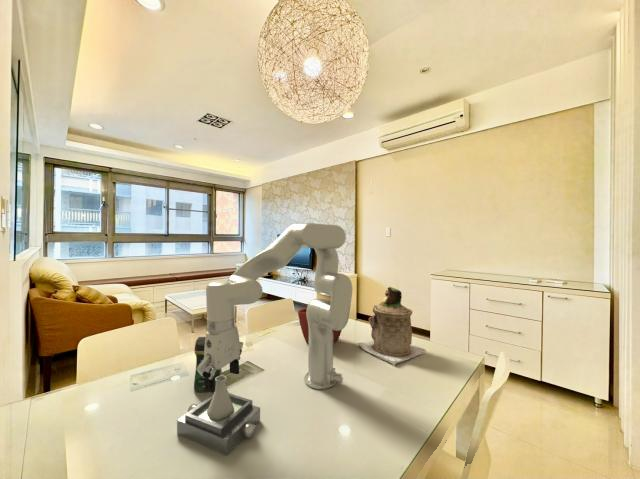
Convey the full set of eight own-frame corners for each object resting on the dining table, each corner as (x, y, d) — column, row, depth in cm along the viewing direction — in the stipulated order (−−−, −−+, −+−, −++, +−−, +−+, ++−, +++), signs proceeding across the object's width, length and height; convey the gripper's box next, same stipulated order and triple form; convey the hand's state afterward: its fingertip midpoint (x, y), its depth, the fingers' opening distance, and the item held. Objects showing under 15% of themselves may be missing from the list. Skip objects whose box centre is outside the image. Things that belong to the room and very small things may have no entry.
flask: (217, 424, 73) (217, 387, 72) (202, 414, 76) (202, 379, 76) (238, 409, 79) (239, 376, 78) (223, 401, 83) (223, 369, 82)
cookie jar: (428, 353, 128) (429, 287, 127) (393, 367, 114) (395, 293, 113) (388, 337, 148) (389, 280, 147) (355, 347, 134) (356, 284, 134)
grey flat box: (266, 422, 79) (266, 403, 79) (234, 458, 67) (234, 436, 66) (209, 403, 88) (209, 385, 88) (171, 431, 75) (171, 411, 75)
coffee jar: (191, 395, 93) (192, 342, 92) (196, 382, 100) (196, 334, 100) (221, 391, 95) (221, 339, 95) (223, 379, 103) (223, 332, 103)
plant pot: (318, 332, 154) (318, 303, 154) (346, 340, 143) (347, 309, 142) (296, 343, 138) (296, 310, 138) (326, 352, 127) (327, 317, 127)
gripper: (207, 337, 68) (209, 402, 68) (250, 316, 84) (252, 369, 84) (186, 333, 71) (188, 395, 71) (231, 313, 86) (233, 365, 87)
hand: (223, 381), depth 78 cm, fingers open, 9 cm apart
